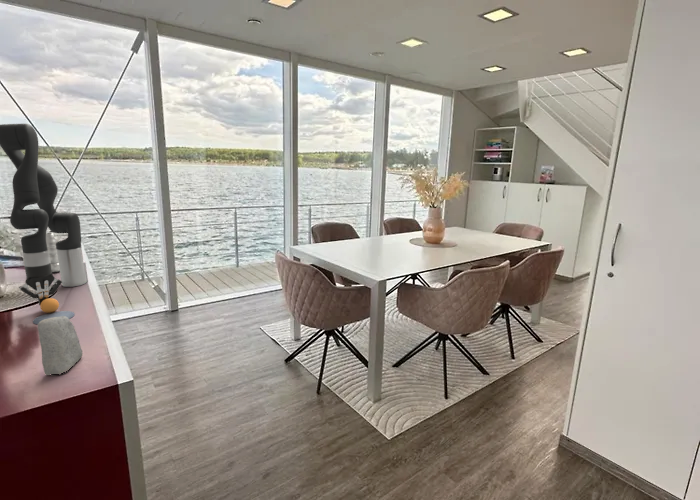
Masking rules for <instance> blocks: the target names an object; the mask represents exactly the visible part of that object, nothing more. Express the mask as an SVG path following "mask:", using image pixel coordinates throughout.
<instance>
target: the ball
mask: <svg viewBox="0 0 700 500" xmlns="http://www.w3.org/2000/svg"><path fill="white" fill-rule="evenodd" d="M39 306H40V307H39V309H40V310H41V311H42V312H43V313H45V314H48V313H52V312H57V310H59V307H60V302H59V301H58V300H57V299H56V298H53V297H52V298H51V297H50V298H49V297H48V299H45V300H43V301H42V302H41V304H40V305H39Z"/></svg>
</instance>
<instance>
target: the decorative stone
mask: <svg viewBox="0 0 700 500" xmlns="http://www.w3.org/2000/svg"><path fill="white" fill-rule="evenodd" d="M37 331H38V339H39V343H40V344H39V345H40V348H41V364H42V369H43V372H44V375H45V374H46V375H45V376H47V375H50V374H59V375H61V374H60V373H63V372H65V371H67V370H69V369H70V368H71V367H72V366H73V367H74V366H75V365H76V364H75V363H76V362H77V363H78V361H79V360H81V358H82V357H83V349H82V346H81V343H80V339H79V335H78V334H77V330H76V328H75V325H74V324H73V322H72V321H71V320H70V319H68V318H67V317H66V316H60V317H53V318H48V319H44V320H42V321H40V322H39V323H38V324H37ZM73 367H72V368H73ZM72 368H71V369H72ZM71 369H70V370H71ZM70 370H69V371H70ZM67 372H68V371H67ZM65 373H66V372H65ZM63 374H64V373H63Z"/></svg>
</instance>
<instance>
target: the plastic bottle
mask: <svg viewBox="0 0 700 500" xmlns="http://www.w3.org/2000/svg"><path fill="white" fill-rule="evenodd" d="M57 242H59V241H58V240H57V239H56V238H55V233H53V232H46V243H47V249H48V253H49V256H50V263H51V269H52V273H58V272H59V273H60V269H59V263H58V257H57V250H56V243H57Z"/></svg>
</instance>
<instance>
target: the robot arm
mask: <svg viewBox="0 0 700 500" xmlns="http://www.w3.org/2000/svg"><path fill="white" fill-rule="evenodd" d="M0 148H2V150H3V152H4V153H5V154H6V155H7V157H8V159H9V160H10V161H11V163H12V164H13V165H14V167H15V168H16V171H15V173H14V175H13V178H12V191H13V199H14V200H13V207H12V210H11V214H10V218H9V220H10V224H11V226H12V227H13V228H14V229H15V230H21V231H22V230H34V229H37V231H35V233H31V234H27V235H24V236H22V237H21V239H20V243H21V249H22V261H23V266H24V272H25V277H26V279H25V283H24V284H23V285H21V286H18V289H19V290H20V291H22V292H23V293H25V294H26V295H28V296H30V297H31V298H33V299H37V301H38V305H39V306H40V304H41V302H42V301H43V300H45V299H48V298H49V297H50V296H52V295H55V293H56V292H57V291H58V289H59V288H60V286H62V287H64V288H65V287H67V288H69V287H71V288H72V287H79V286H82V285H85V284H86V283H87V282H89V278H88V271H87V263H86V261H84V256H83V255H84V254H83V249H82V233H81V232H82V230H81V222H80V217H79V216H78V214H77V213H75V212H58V211H57V210H56V209H55V206H54V204H55V203H54V202H55V200H56V198H57V195H58V190H59V189H58V185H57V184H56V181H55V180H54V178H53V176H52V174H51V173H50V172H49V171H48V170H47V169H45V168H44V167H42V166H41V165H39V164H38V163H39V138H38V133H37V132H36V129H35V128H34V127H33V126H32V125H31V124H30V123H7V124H6V123H5V124H3V123H2V124H0ZM23 151H24V153H23ZM35 204H37V206H38V208H34V209H30V208H29V209H27V208H26V207H27V206H31V205H35ZM24 208H26V209H24ZM48 229H49V230H50V232H51V233H54V234H67V238H65V239H62V240H59V241H58V242H57V243H56V250H57V257H58V263H59V269H60V271H59V275H60V278H59V279H58V278H55V276H54V275H53V272H52V269H51V263H50V256H49V253H48V249H47V243H46V233H47V230H48ZM50 286H51V287H50ZM29 287H30V288H31V289H33V290H35V293H34V292H33V291H30V288H29ZM49 288H50V289H49Z"/></svg>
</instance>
